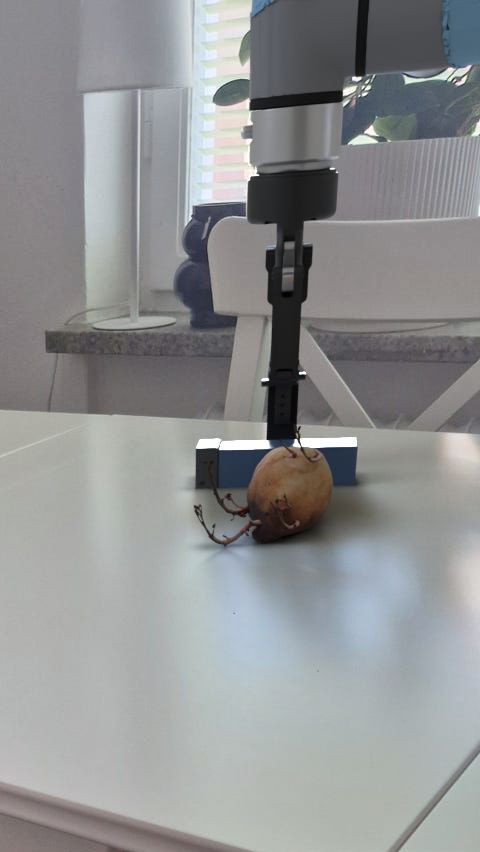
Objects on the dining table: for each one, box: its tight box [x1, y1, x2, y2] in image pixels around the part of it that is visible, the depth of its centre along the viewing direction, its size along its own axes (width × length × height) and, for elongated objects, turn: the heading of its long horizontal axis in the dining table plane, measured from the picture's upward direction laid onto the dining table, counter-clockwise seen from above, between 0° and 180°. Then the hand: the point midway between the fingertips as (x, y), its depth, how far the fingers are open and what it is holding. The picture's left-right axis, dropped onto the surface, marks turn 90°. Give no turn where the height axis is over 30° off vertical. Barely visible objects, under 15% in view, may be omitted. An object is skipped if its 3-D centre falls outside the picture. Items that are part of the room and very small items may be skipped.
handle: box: [194, 437, 359, 490], centre depth 105 cm, size 14×4×4 cm, turn 76°
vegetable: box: [192, 424, 334, 548], centre depth 93 cm, size 16×11×10 cm
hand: (280, 457), depth 110 cm, fingers closed
